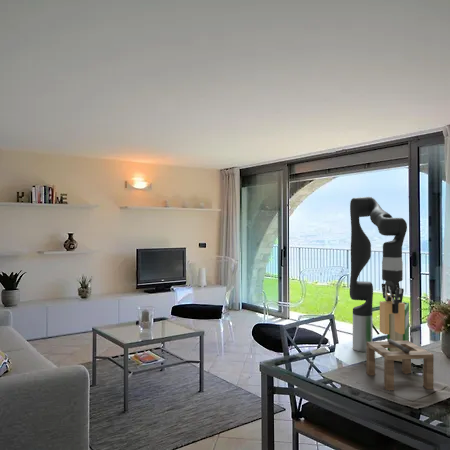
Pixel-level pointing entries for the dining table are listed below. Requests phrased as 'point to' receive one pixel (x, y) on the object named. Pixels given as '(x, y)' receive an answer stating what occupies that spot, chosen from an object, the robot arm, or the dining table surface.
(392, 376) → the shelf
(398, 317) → the wooden arch block
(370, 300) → the robot arm
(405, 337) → the hardback book
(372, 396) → the dining table surface
